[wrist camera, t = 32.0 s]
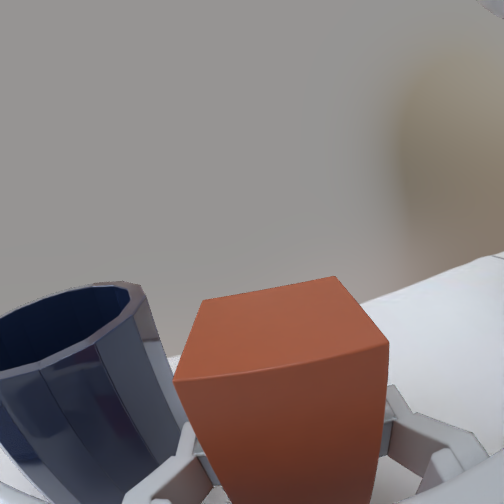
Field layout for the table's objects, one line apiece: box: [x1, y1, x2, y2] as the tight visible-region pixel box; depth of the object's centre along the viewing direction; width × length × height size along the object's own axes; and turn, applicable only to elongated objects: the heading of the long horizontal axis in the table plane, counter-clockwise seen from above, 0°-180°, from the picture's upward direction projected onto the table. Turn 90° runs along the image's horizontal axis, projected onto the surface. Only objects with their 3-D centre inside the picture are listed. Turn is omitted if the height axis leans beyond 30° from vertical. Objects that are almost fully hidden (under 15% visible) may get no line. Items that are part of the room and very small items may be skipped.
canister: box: [0, 281, 189, 504], centre depth 14 cm, size 12×12×10 cm
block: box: [172, 276, 389, 504], centre depth 8 cm, size 4×4×10 cm
